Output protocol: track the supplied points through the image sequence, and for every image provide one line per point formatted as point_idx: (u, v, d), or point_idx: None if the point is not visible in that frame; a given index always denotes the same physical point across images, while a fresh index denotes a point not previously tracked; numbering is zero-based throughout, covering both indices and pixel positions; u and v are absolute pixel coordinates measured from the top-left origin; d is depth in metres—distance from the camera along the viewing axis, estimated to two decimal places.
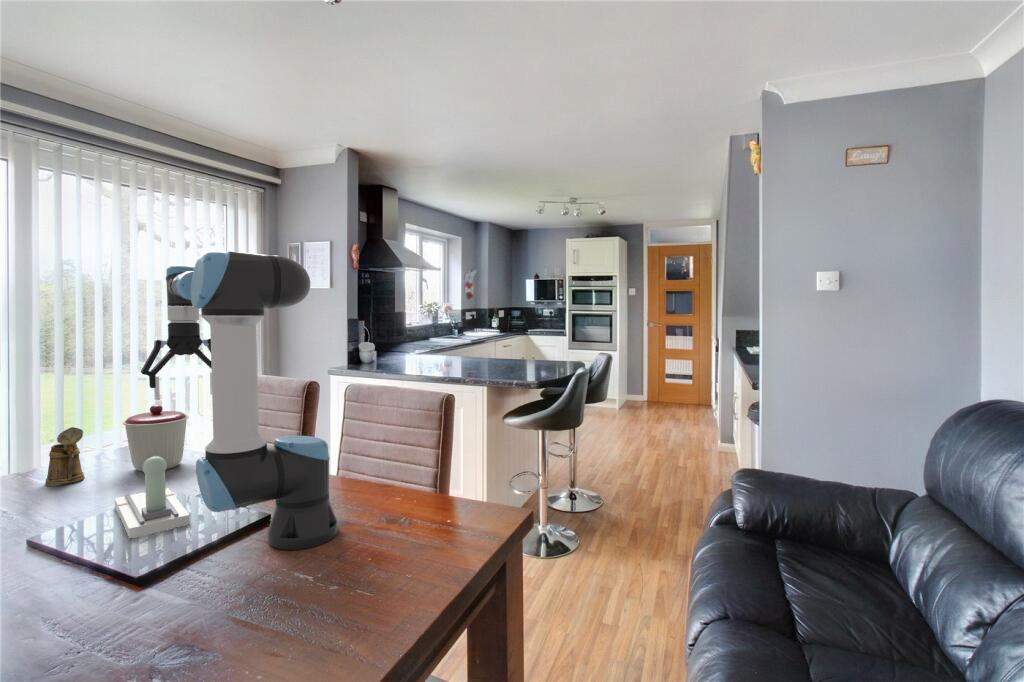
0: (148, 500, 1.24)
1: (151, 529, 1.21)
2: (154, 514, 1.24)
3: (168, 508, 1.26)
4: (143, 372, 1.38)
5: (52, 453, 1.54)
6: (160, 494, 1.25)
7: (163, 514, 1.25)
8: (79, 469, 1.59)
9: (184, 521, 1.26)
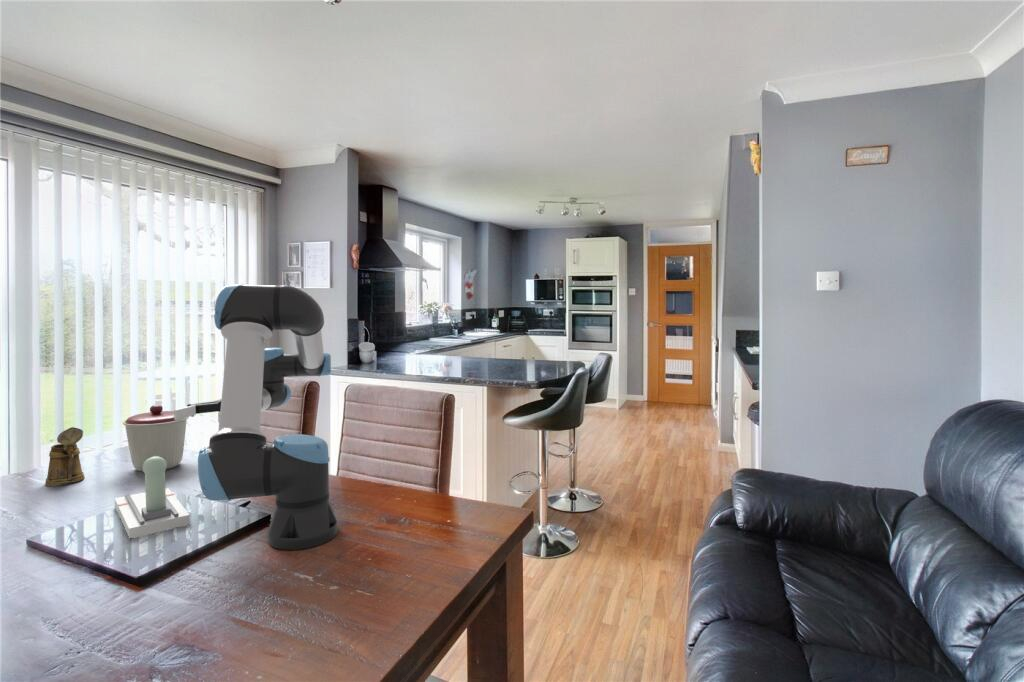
0: (148, 500, 1.24)
1: (151, 529, 1.21)
2: (154, 514, 1.24)
3: (168, 508, 1.26)
4: (188, 404, 1.48)
5: (52, 453, 1.54)
6: (160, 494, 1.25)
7: (163, 514, 1.25)
8: (79, 469, 1.59)
9: (184, 521, 1.26)
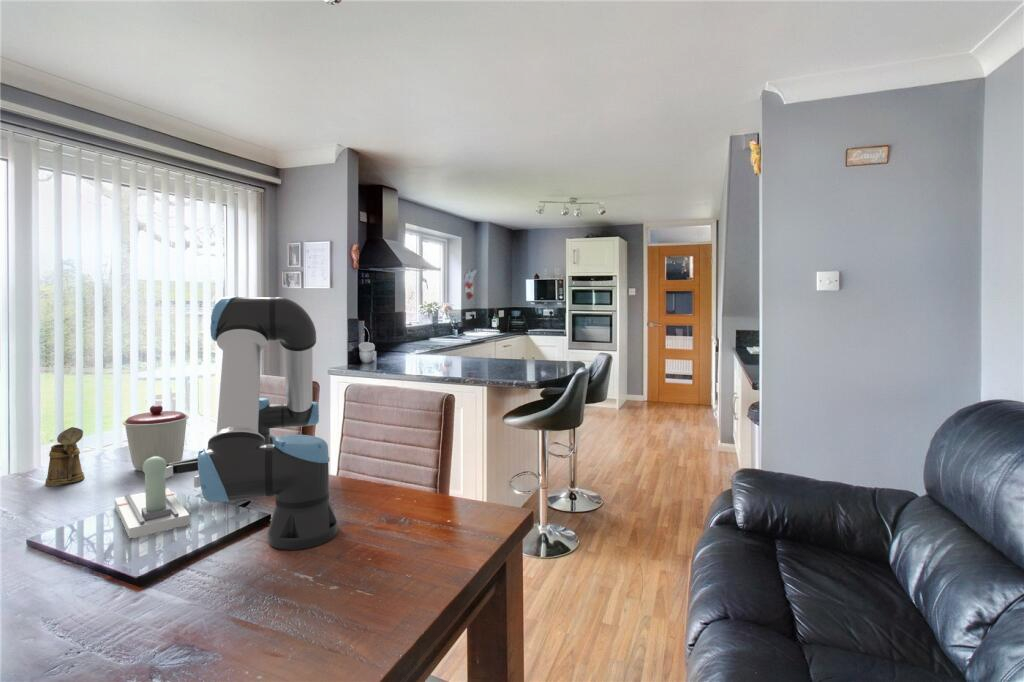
0: (148, 500, 1.24)
1: (151, 529, 1.21)
2: (154, 514, 1.24)
3: (168, 508, 1.26)
4: None
5: (52, 453, 1.54)
6: (160, 494, 1.25)
7: (163, 514, 1.25)
8: (79, 469, 1.59)
9: (184, 521, 1.26)
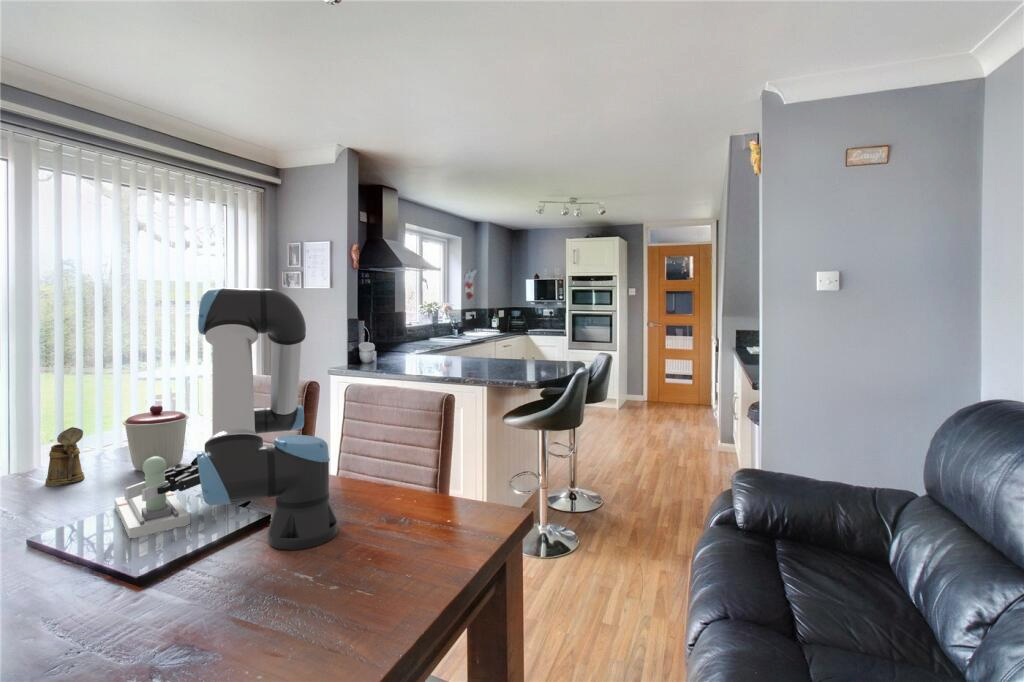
0: (148, 500, 1.24)
1: (151, 529, 1.21)
2: (154, 514, 1.24)
3: (168, 508, 1.26)
4: None
5: (52, 453, 1.54)
6: None
7: (163, 514, 1.25)
8: (79, 469, 1.59)
9: (184, 521, 1.26)
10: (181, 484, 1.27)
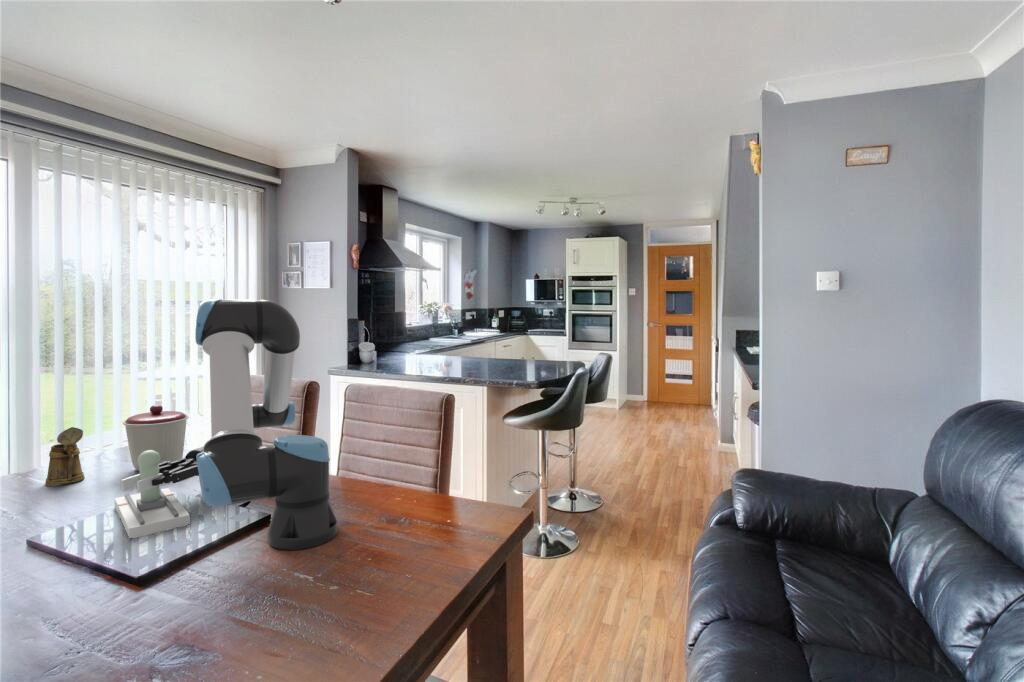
0: (143, 492, 1.30)
1: (151, 529, 1.21)
2: (148, 505, 1.29)
3: (162, 499, 1.32)
4: None
5: (52, 453, 1.54)
6: None
7: (157, 505, 1.31)
8: (79, 469, 1.59)
9: (184, 521, 1.26)
10: (174, 476, 1.32)
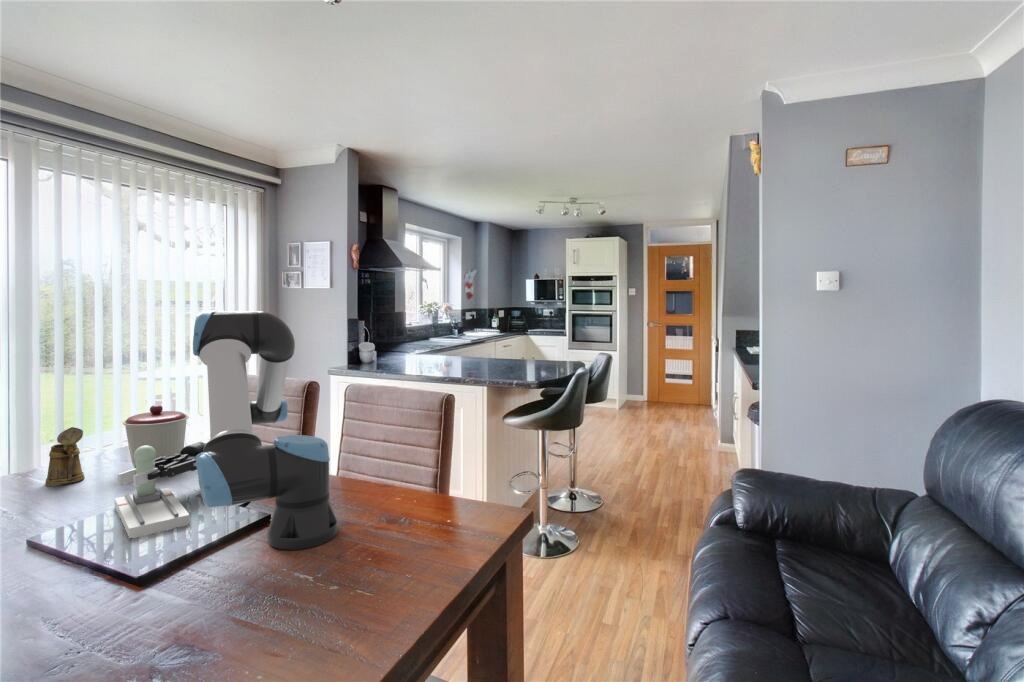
0: (139, 486, 1.34)
1: (151, 529, 1.21)
2: (144, 499, 1.34)
3: (157, 493, 1.36)
4: None
5: (52, 453, 1.54)
6: (150, 481, 1.35)
7: (152, 499, 1.35)
8: (79, 469, 1.59)
9: (184, 521, 1.26)
10: (169, 470, 1.37)
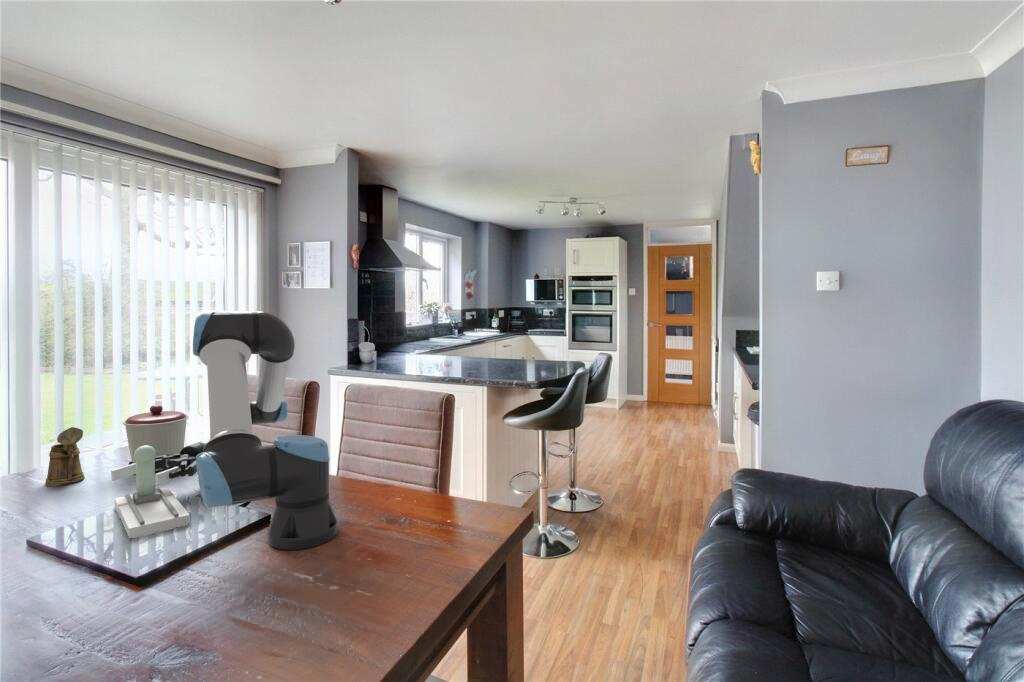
0: (139, 485, 1.34)
1: (151, 529, 1.21)
2: (144, 499, 1.34)
3: (157, 493, 1.36)
4: (130, 461, 1.42)
5: (52, 453, 1.54)
6: (150, 480, 1.35)
7: (152, 499, 1.35)
8: (79, 469, 1.59)
9: (184, 521, 1.26)
10: (190, 469, 1.38)
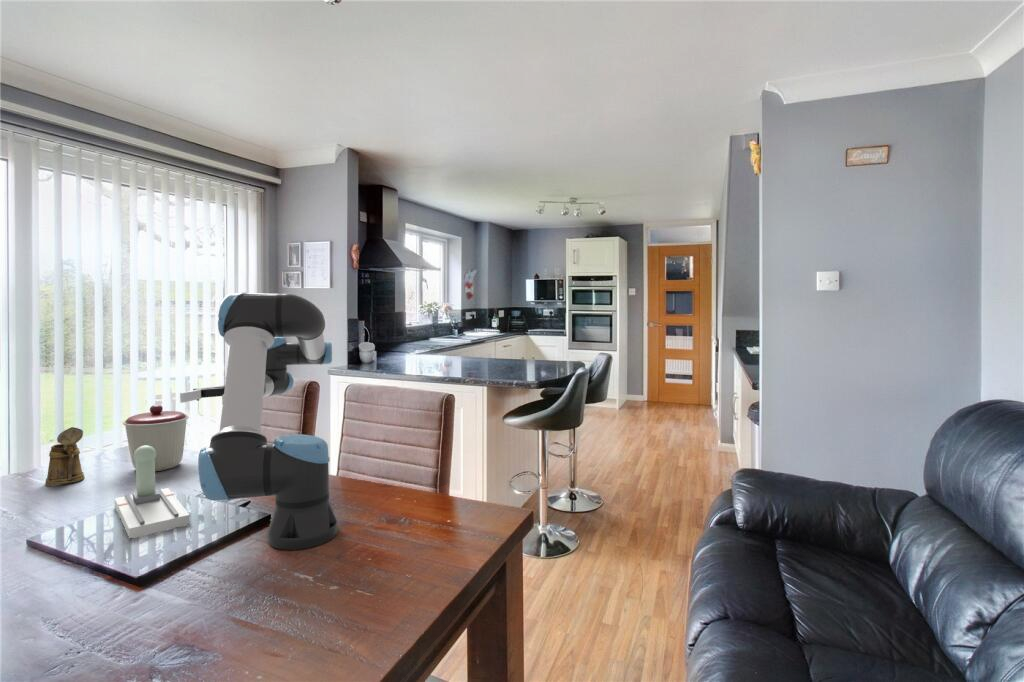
0: (139, 485, 1.34)
1: (151, 529, 1.21)
2: (144, 499, 1.34)
3: (157, 493, 1.36)
4: None
5: (52, 453, 1.54)
6: (150, 480, 1.35)
7: (152, 499, 1.35)
8: (79, 469, 1.59)
9: (184, 521, 1.26)
10: None
